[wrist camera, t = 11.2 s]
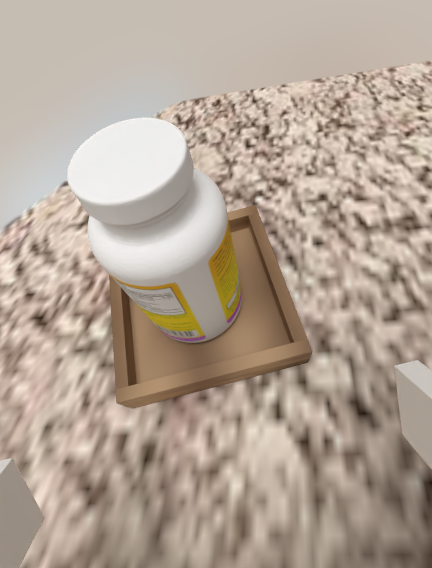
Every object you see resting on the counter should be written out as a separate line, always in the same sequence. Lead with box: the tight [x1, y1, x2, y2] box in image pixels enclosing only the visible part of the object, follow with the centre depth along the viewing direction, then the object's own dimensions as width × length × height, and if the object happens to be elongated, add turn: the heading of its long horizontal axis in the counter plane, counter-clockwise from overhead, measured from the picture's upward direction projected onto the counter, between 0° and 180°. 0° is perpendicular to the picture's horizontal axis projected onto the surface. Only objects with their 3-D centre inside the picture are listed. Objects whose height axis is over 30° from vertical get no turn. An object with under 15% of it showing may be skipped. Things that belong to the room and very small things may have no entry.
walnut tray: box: [109, 205, 312, 408], centre depth 23 cm, size 12×12×2 cm
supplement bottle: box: [67, 118, 242, 343], centre depth 17 cm, size 7×7×13 cm
